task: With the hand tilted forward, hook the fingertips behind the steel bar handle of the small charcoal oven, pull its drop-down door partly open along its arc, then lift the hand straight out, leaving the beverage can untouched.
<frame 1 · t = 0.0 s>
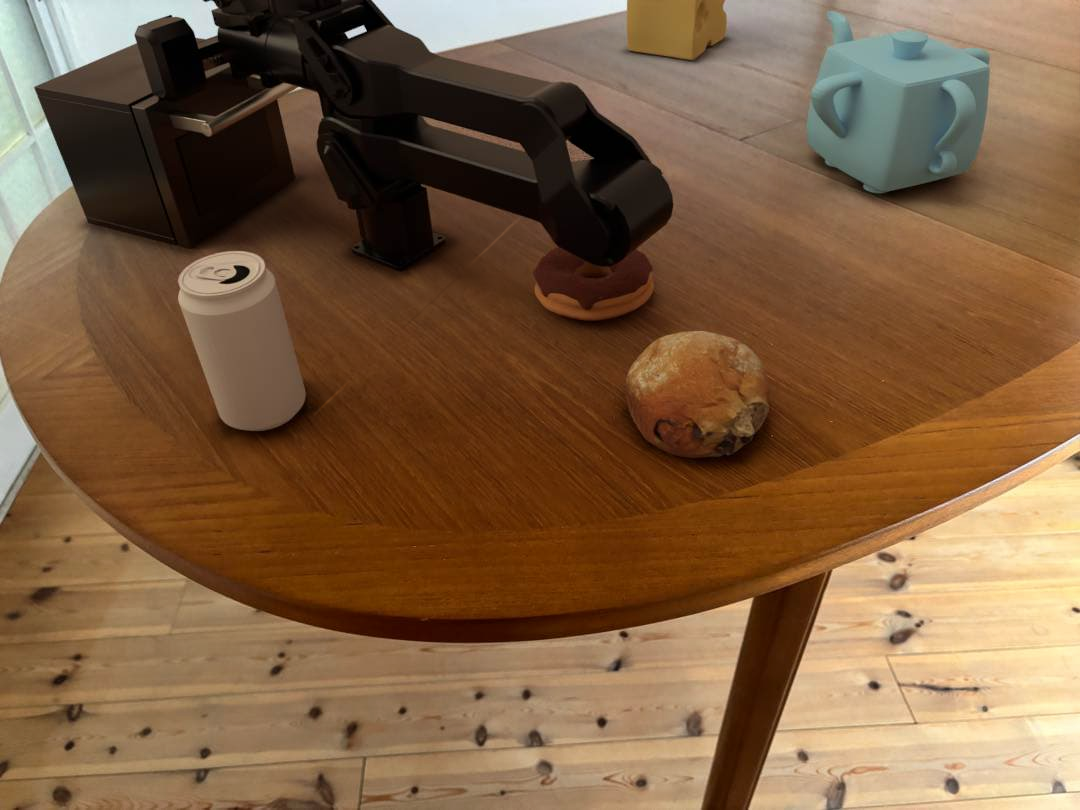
hand: (182, 20, 87), 17 cm above the table, tool horizontal, fingers open, 9 cm apart
oven: (188, 199, 96), on the table
cheese: (674, 47, 126), on the table
teapot: (872, 163, 96), on the table
bread roll: (696, 419, 66), on the table
beverage can: (265, 411, 68), on the table
donut: (593, 298, 78), on the table
oven door: (242, 150, 88), point 7 cm above the table, hinge at -0.1°, touching gripper
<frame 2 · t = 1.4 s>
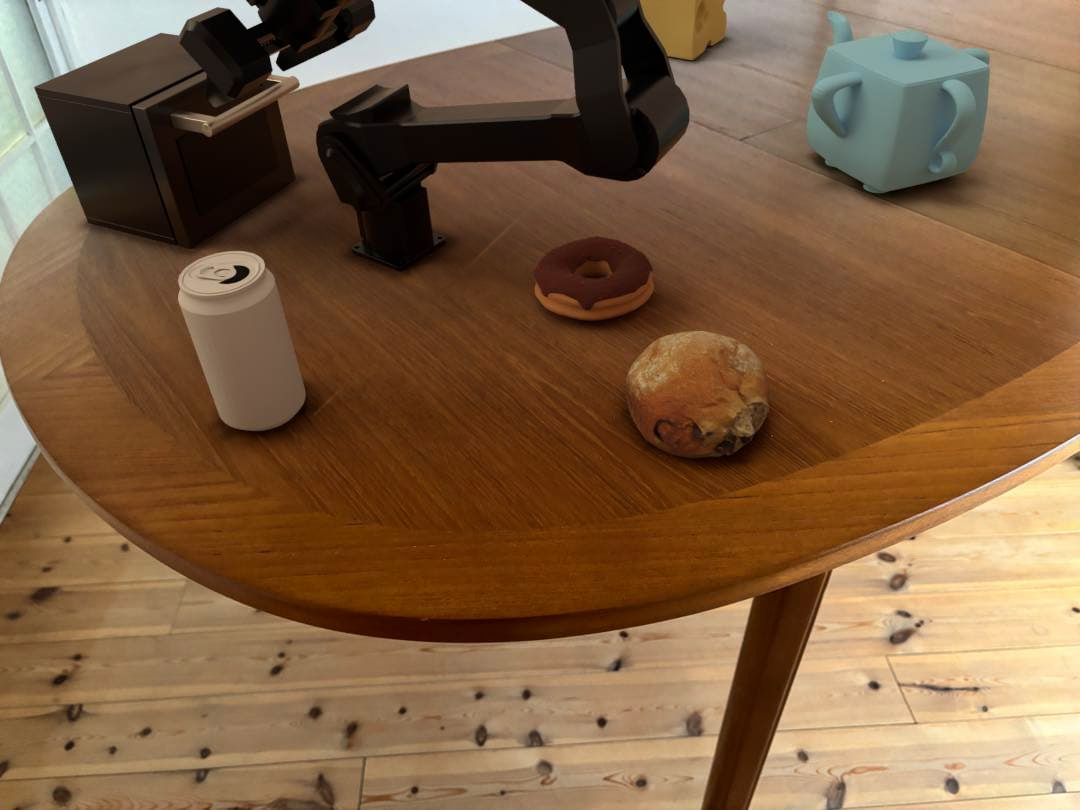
hand: (247, 84, 83), 14 cm above the table, tool tilted 45°, fingers open, 9 cm apart
oven door: (242, 150, 88), point 7 cm above the table, hinge at 0.2°
everything else where it was.
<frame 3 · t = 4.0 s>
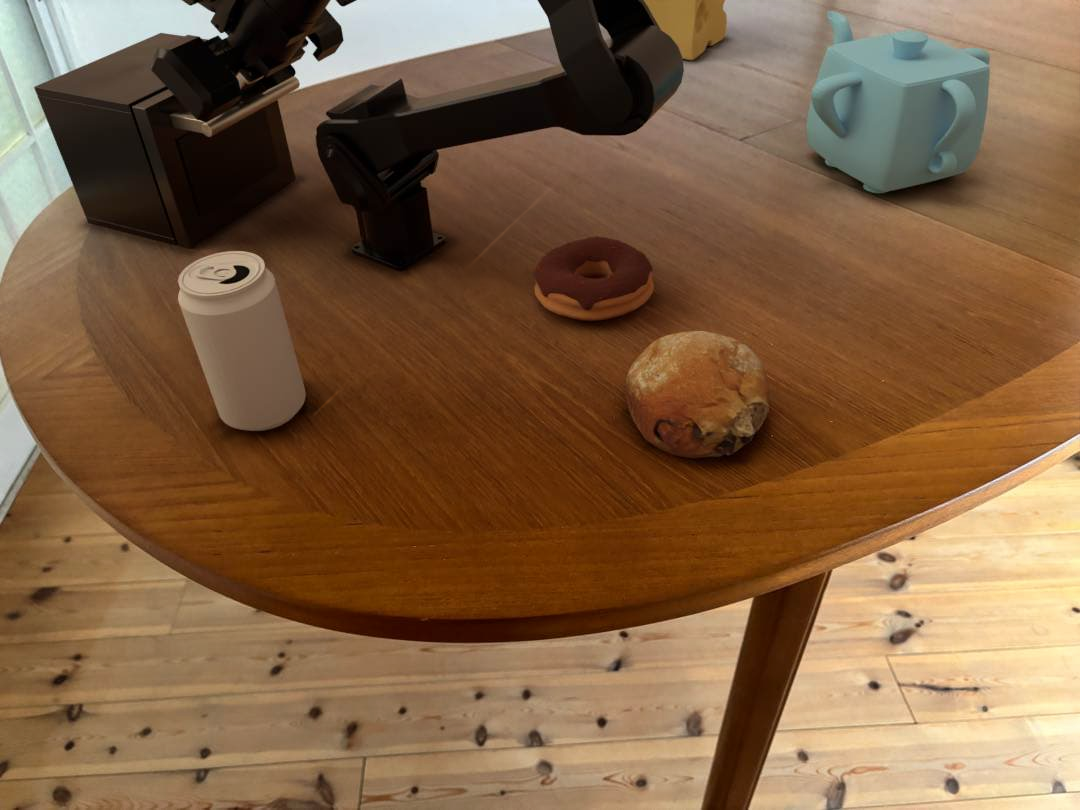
hand: (220, 106, 86), 11 cm above the table, tool tilted 45°, fingers closed, pressing on oven door
oven door: (242, 150, 88), point 7 cm above the table, hinge at 0.2°, touching gripper
everything else where it was.
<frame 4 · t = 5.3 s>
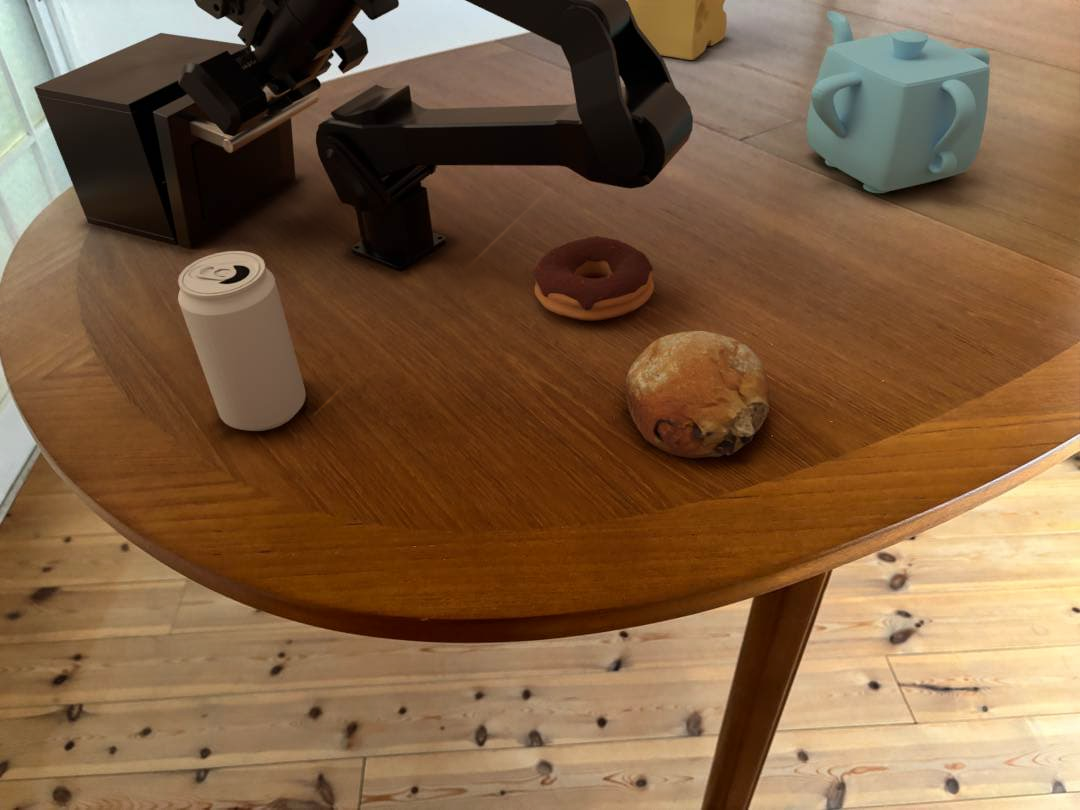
hand: (244, 118, 85), 10 cm above the table, tool tilted 45°, fingers closed, pressing on oven door
oven door: (253, 158, 88), point 6 cm above the table, hinge at 10.4°, touching gripper
everything else where it was.
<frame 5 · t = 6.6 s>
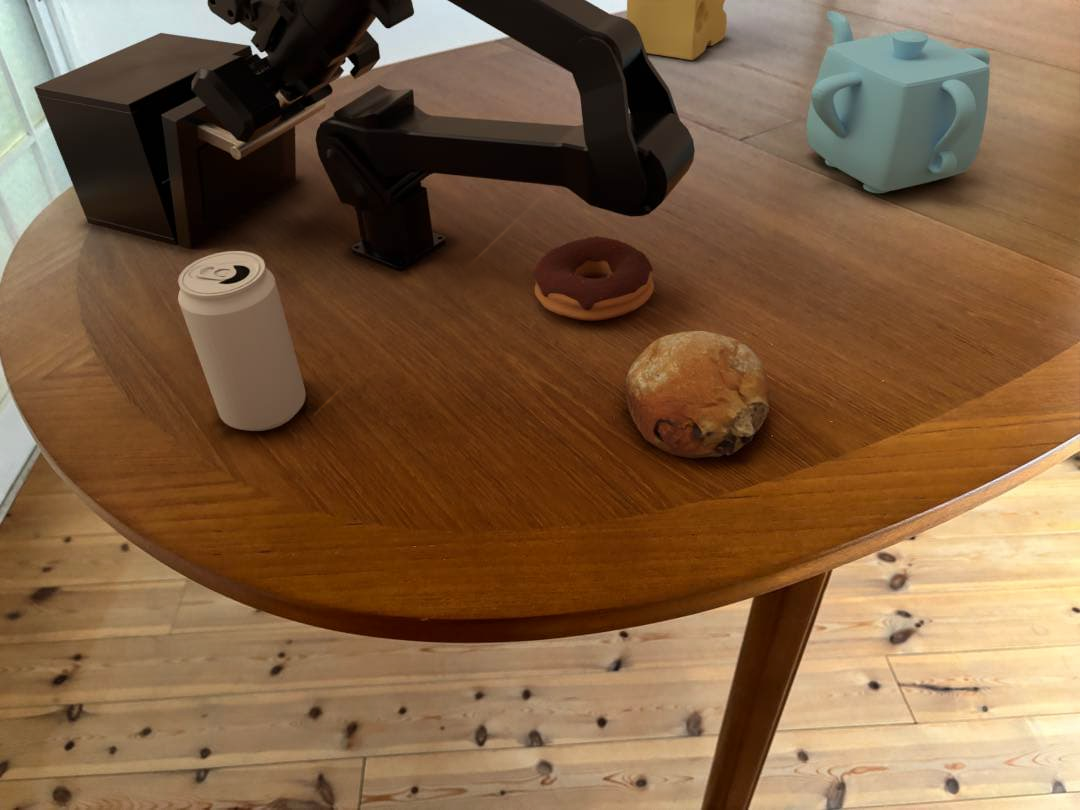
hand: (255, 123, 85), 10 cm above the table, tool tilted 45°, fingers closed, pressing on oven door
oven door: (257, 161, 88), point 6 cm above the table, hinge at 14.3°, touching gripper
everything else where it was.
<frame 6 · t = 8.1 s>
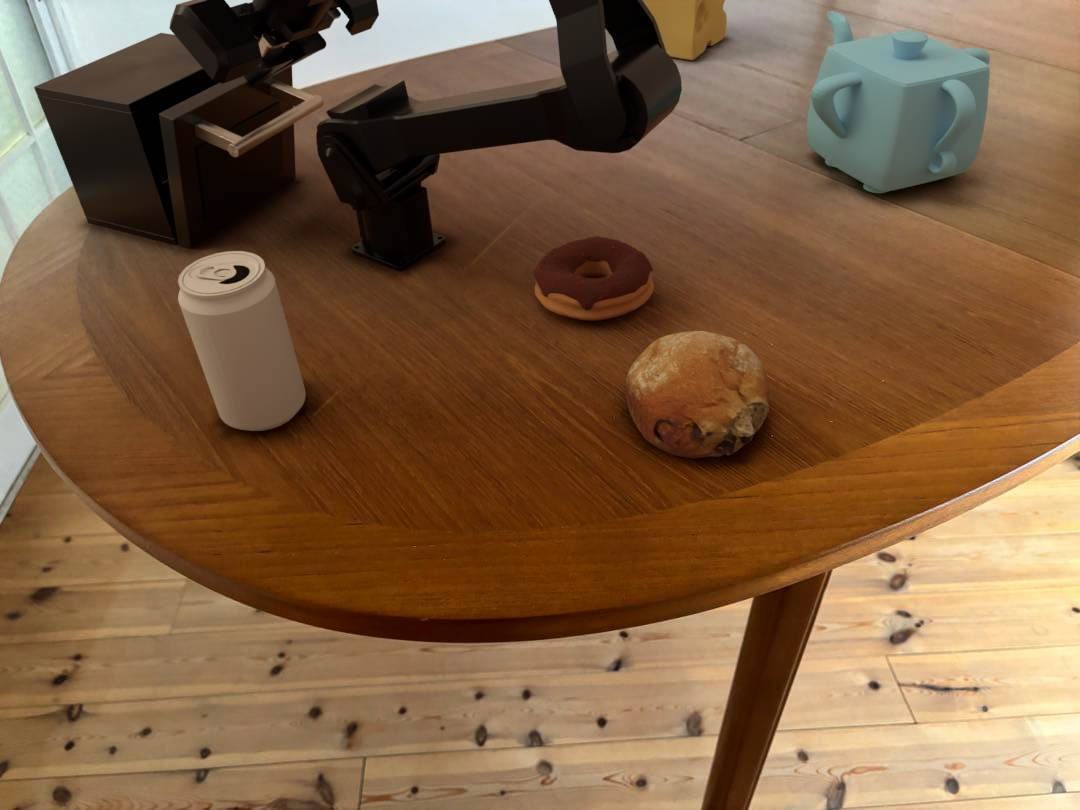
hand: (251, 81, 83), 14 cm above the table, tool tilted 40°, fingers closed
oven door: (256, 160, 88), point 6 cm above the table, hinge at 13.1°
everything else where it was.
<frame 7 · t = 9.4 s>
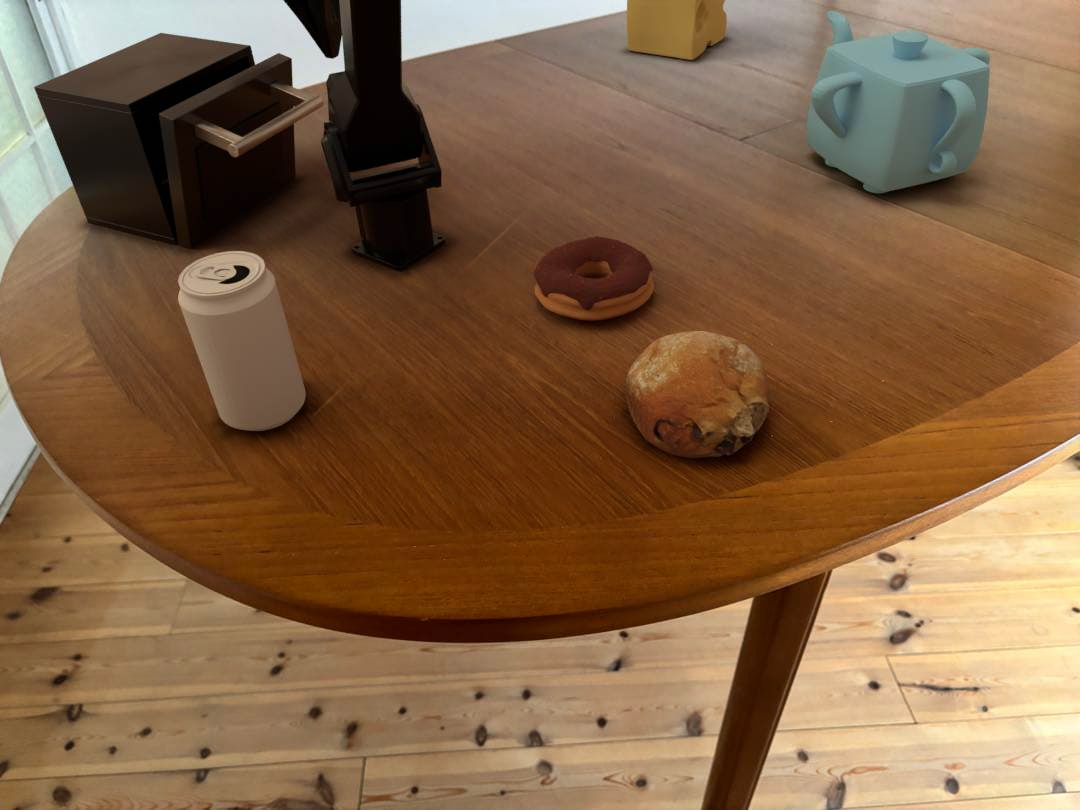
hand: (332, 57, 89), 13 cm above the table, tool pointing down, fingers closed
nothing on the table moved.
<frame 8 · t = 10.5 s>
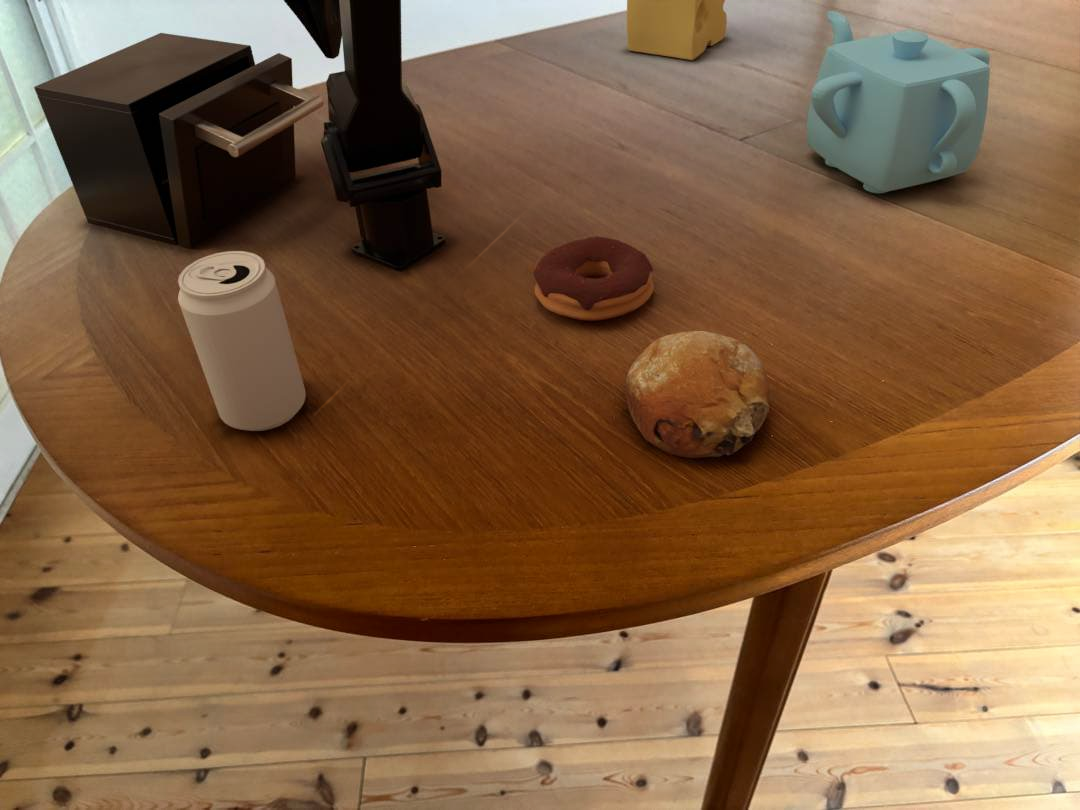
hand: (332, 57, 89), 13 cm above the table, tool pointing down, fingers closed
nothing on the table moved.
at the end: oven door at +13° (first picture: +0°); beverage can moved 0.2 cm from its start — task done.
